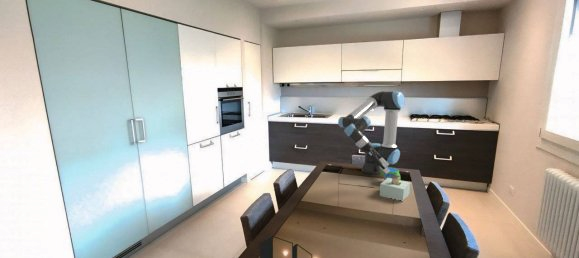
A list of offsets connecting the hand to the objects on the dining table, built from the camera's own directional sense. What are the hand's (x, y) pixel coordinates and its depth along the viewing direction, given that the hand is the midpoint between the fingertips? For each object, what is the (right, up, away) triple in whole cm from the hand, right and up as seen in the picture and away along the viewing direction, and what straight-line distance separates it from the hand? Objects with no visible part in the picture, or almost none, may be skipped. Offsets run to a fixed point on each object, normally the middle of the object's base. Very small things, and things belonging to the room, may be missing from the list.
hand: (387, 169), depth 163 cm
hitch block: (+5, -17, +2) cm, 18 cm away
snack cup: (+10, -14, +22) cm, 28 cm away
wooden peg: (+5, -16, +2) cm, 17 cm away
